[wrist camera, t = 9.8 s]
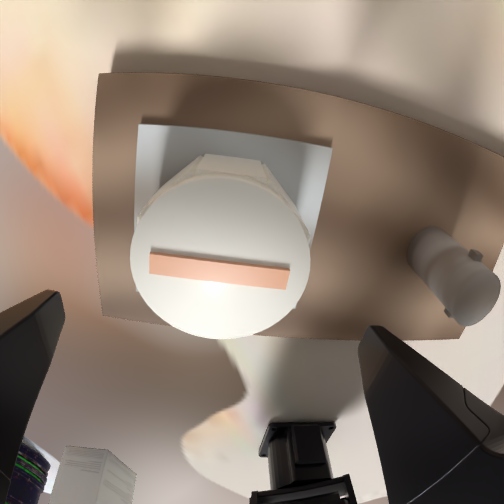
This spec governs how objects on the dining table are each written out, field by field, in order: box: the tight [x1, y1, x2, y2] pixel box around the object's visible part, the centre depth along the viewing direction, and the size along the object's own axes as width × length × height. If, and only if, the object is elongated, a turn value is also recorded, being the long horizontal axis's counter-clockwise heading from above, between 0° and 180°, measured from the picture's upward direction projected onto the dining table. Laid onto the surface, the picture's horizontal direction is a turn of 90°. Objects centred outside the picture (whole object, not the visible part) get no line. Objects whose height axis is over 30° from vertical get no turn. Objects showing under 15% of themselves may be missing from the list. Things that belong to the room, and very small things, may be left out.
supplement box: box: [49, 446, 137, 504], centre depth 25 cm, size 7×7×13 cm
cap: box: [130, 154, 311, 339], centre depth 13 cm, size 7×7×5 cm
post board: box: [93, 73, 504, 340], centre depth 15 cm, size 14×26×7 cm, turn 82°
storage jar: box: [5, 443, 50, 504], centre depth 26 cm, size 10×10×15 cm
